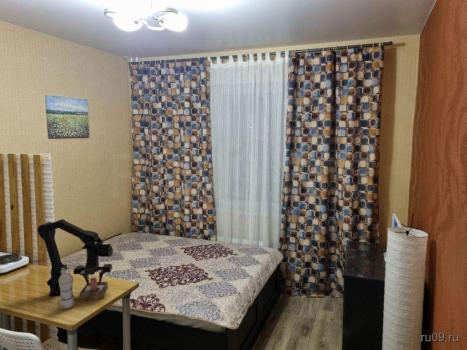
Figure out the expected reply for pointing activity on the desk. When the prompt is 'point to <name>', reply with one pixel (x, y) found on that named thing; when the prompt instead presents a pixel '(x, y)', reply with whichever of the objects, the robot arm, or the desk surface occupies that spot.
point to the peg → (93, 284)
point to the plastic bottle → (66, 289)
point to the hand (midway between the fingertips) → (94, 284)
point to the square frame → (89, 295)
